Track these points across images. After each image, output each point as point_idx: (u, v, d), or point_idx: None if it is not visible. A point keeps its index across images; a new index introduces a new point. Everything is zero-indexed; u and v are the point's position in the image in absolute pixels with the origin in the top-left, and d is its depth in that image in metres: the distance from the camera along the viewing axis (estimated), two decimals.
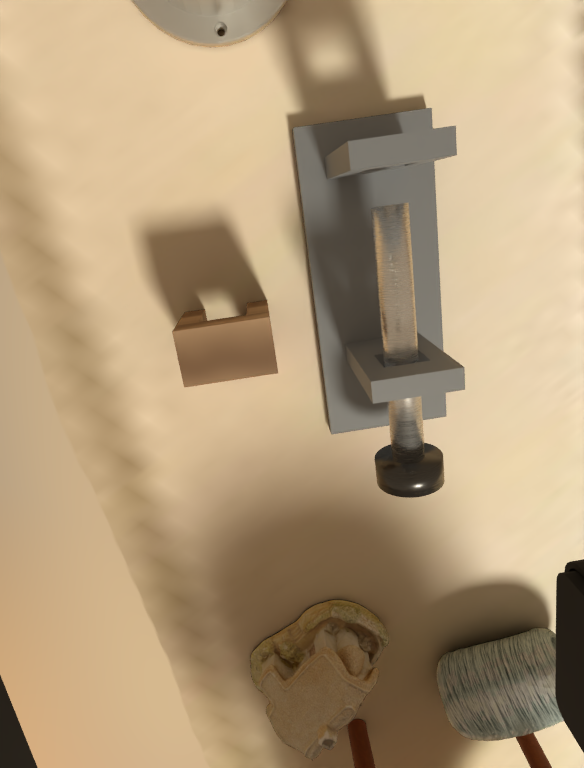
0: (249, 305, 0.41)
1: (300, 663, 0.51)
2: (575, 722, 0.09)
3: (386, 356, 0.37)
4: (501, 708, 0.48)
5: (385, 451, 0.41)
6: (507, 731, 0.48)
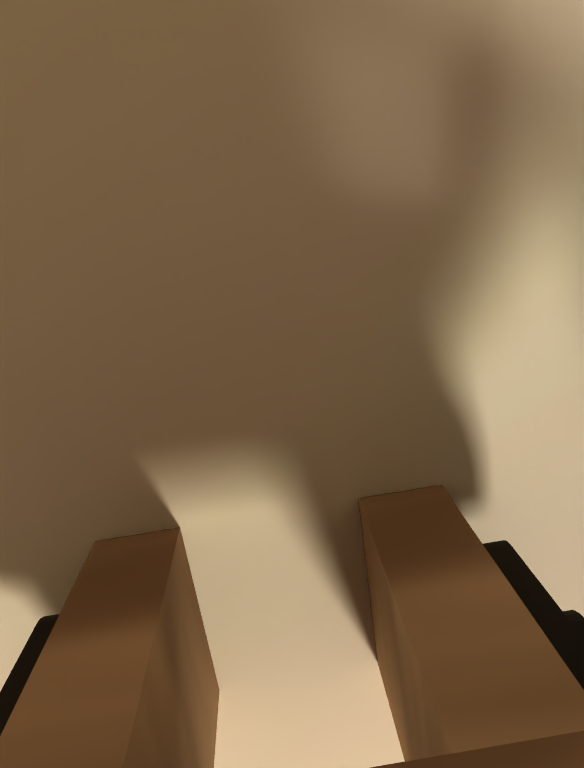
0: (385, 538, 0.09)
1: None
2: None
3: None
4: None
5: None
6: None
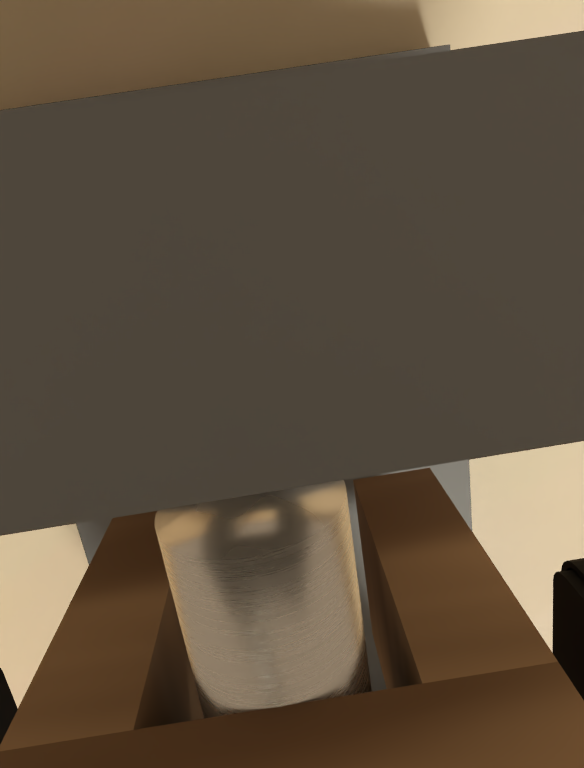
0: (375, 512, 0.10)
1: None
2: None
3: None
4: None
5: None
6: None
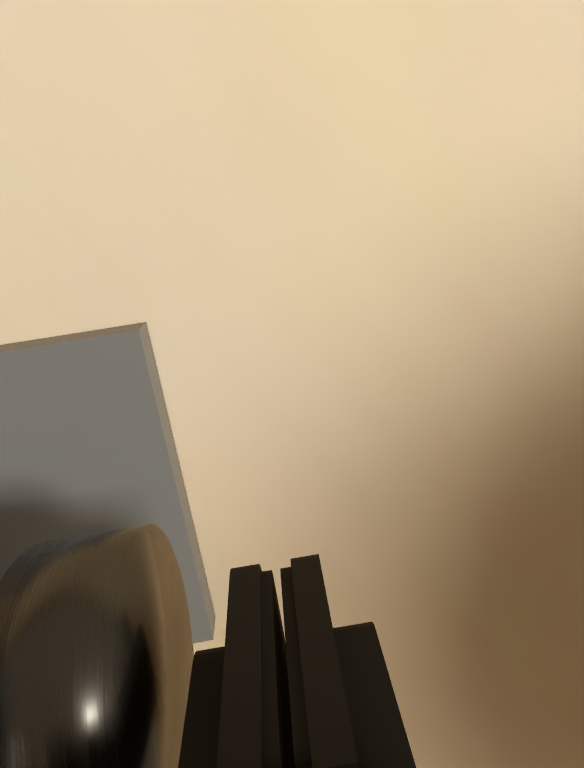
0: None
1: None
2: None
3: None
4: None
5: None
6: None
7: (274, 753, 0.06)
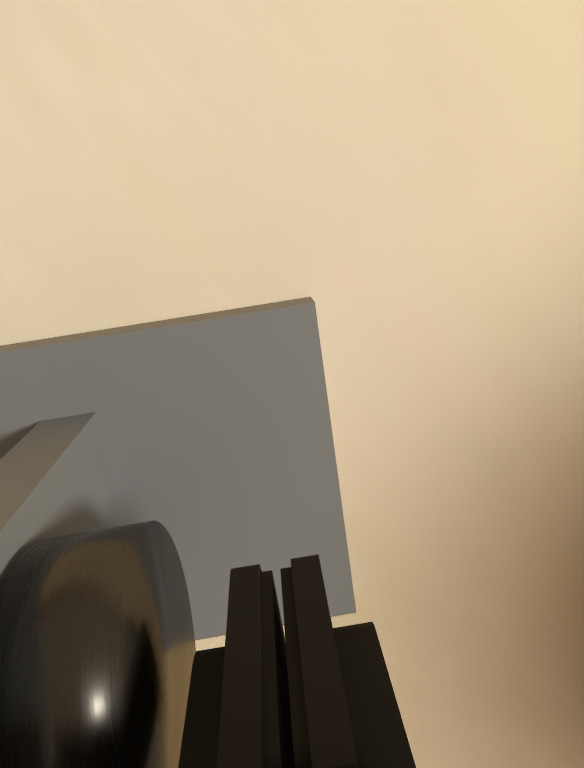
0: None
1: None
2: None
3: None
4: None
5: None
6: None
7: (274, 753, 0.06)
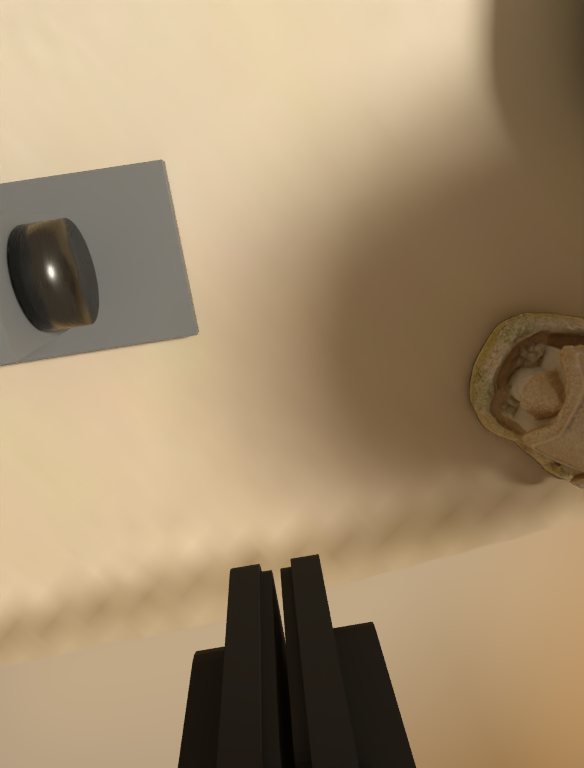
0: None
1: None
2: None
3: None
4: None
5: None
6: None
7: (274, 753, 0.06)
